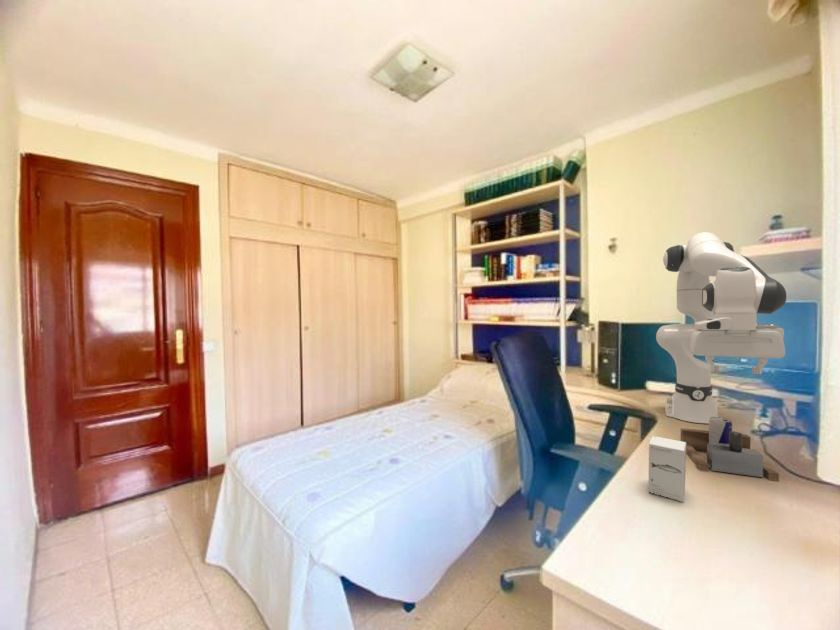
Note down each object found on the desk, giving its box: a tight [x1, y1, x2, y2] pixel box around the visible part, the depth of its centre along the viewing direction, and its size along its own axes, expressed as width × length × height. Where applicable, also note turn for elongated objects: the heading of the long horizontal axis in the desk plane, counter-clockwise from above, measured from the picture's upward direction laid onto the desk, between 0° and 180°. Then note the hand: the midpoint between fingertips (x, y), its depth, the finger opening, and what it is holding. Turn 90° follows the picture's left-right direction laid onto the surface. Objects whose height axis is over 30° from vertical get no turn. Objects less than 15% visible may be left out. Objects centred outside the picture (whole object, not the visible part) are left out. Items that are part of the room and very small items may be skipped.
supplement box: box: [647, 435, 687, 503], centre depth 88 cm, size 7×7×13 cm
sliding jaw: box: [706, 430, 764, 478], centre depth 98 cm, size 4×11×11 cm, turn 67°
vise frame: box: [680, 427, 780, 482], centre depth 104 cm, size 18×17×6 cm
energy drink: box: [708, 416, 733, 447], centre depth 107 cm, size 5×5×12 cm
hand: (735, 372), depth 99 cm, fingers open, 8 cm apart
